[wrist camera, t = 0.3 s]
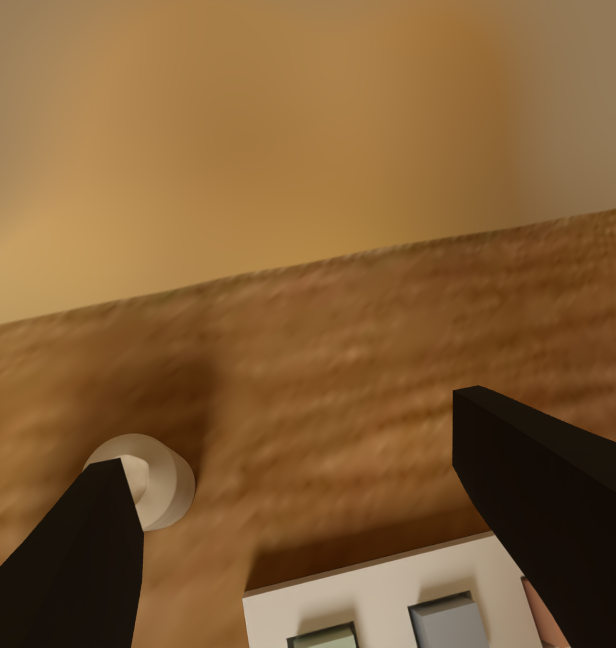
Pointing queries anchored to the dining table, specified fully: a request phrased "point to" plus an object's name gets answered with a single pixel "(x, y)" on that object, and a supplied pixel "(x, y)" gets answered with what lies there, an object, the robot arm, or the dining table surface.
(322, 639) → the sage button
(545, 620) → the terracotta button
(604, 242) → the dining table surface
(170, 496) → the candle
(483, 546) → the button panel
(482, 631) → the slate button
